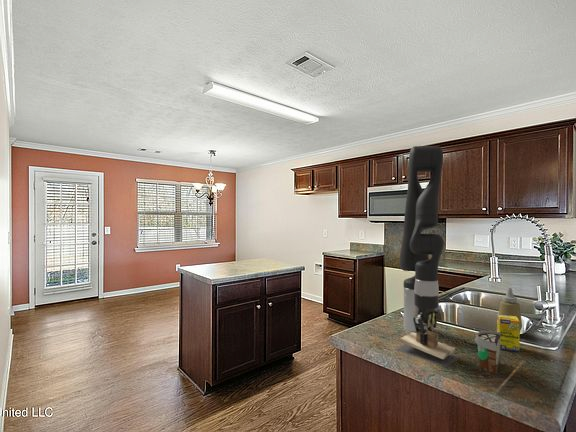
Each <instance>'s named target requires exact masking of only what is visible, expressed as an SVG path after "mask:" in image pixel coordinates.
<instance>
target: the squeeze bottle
mask: <svg viewBox="0 0 576 432" xmlns="http://www.w3.org/2000/svg"><path fill="white" fill-rule="evenodd" d="M521 313H522V312H521V306H520V304H519V302H518V298H517V296H514V293H513V289H512V287H507V291H506V294H505V295H502V300H501V301H500V302H499V308H498V314H500V315H507V316H516V317H517V318H518V320H519V321H520V331H522V327H523V323H522V314H521Z"/></svg>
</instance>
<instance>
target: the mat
mask: <svg viewBox="0 0 576 432" xmlns="http://www.w3.org/2000/svg"><path fill="white" fill-rule="evenodd" d="M395 351H398V352H400V353H403V354H407V355H410V356H413V357H415V358H418V359H420V360H423V361H426V362H429V363H432V364H435V365H438V366H440V367H442V368H443V367H444V368H448V367H449V366H451V365H452V364H453V363H454V362H456V361H457V360H458V359H460V358H461V356H459V355H456V354H453V353H452V354H450V355H449V356H447V357H446V358H444V359H441V358H438V357H436V356H433V355H431V354H429V353H426V352H424V351H421V350H419V349H417V348H414V347H412V346H409V345H407V344H403V345H402V346H399V347H398V348H396V349H395Z"/></svg>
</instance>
